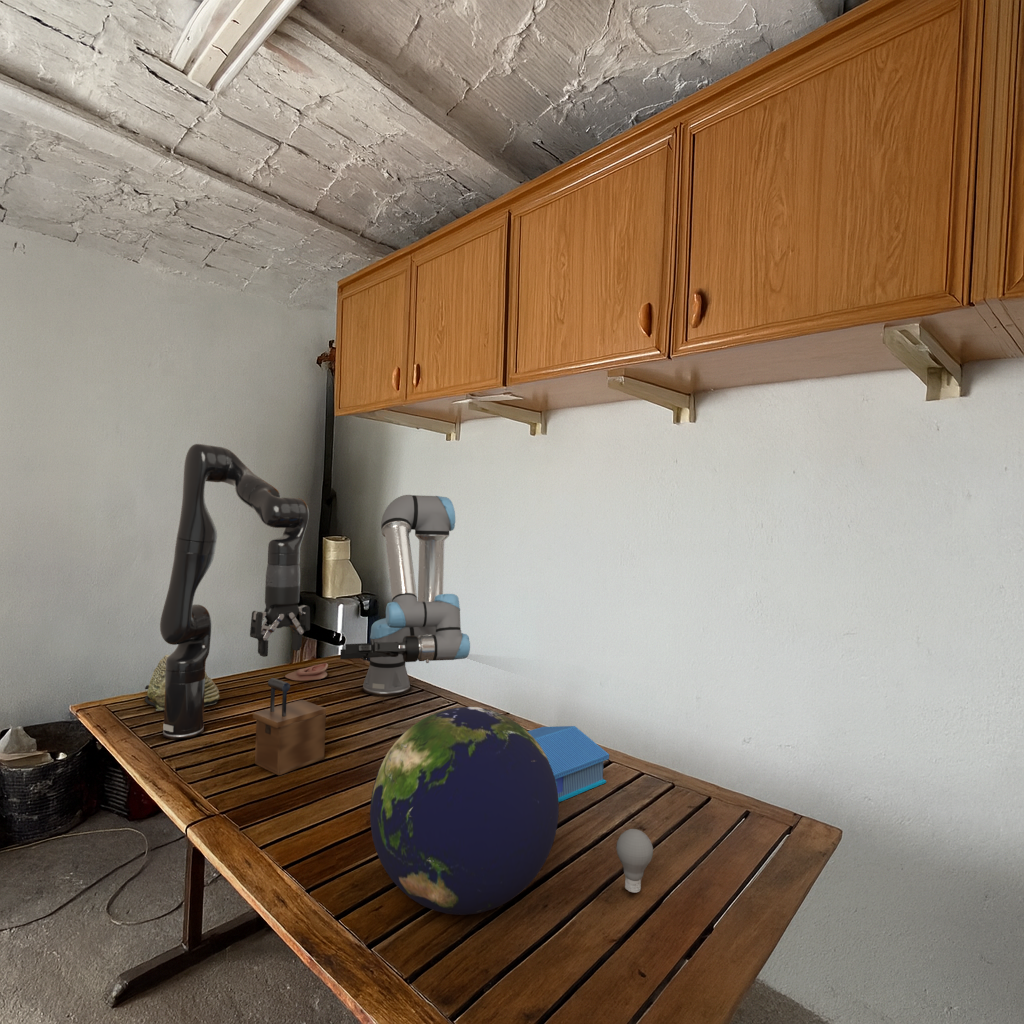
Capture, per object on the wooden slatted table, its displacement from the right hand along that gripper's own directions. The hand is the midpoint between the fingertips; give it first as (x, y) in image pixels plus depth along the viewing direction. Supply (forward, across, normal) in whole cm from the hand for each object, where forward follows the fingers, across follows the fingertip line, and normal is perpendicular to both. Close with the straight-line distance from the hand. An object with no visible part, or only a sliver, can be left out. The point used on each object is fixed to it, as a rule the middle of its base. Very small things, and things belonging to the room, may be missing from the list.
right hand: (342, 651), depth 179 cm
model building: (-33, -44, -37) cm, 66 cm away
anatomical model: (+7, +50, -3) cm, 51 cm away
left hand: (+17, -28, -2) cm, 33 cm away
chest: (+14, -17, -27) cm, 35 cm away
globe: (-11, -75, -47) cm, 89 cm away
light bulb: (-39, -81, -50) cm, 102 cm away
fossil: (+42, +27, -11) cm, 52 cm away
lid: (+14, -21, -16) cm, 30 cm away
